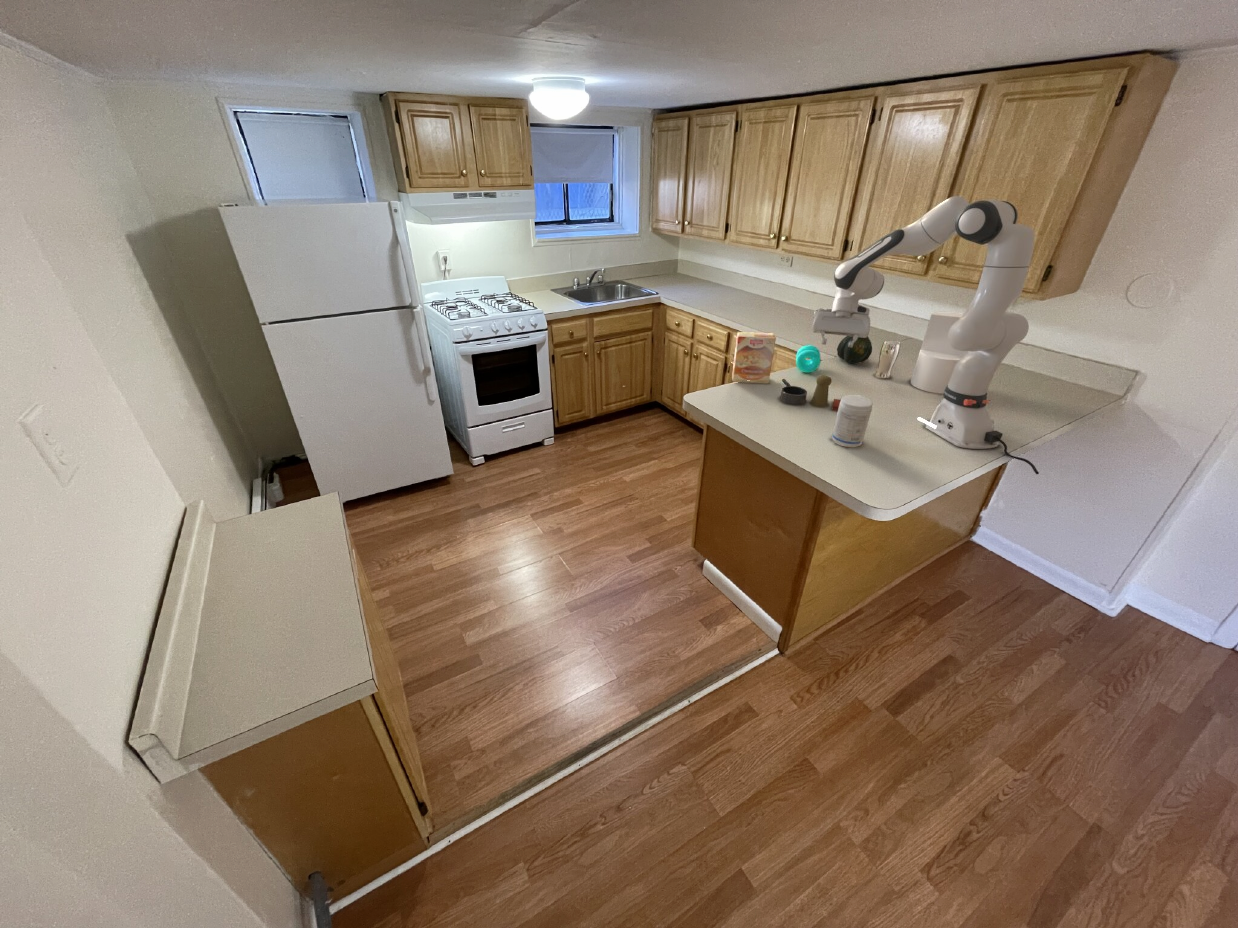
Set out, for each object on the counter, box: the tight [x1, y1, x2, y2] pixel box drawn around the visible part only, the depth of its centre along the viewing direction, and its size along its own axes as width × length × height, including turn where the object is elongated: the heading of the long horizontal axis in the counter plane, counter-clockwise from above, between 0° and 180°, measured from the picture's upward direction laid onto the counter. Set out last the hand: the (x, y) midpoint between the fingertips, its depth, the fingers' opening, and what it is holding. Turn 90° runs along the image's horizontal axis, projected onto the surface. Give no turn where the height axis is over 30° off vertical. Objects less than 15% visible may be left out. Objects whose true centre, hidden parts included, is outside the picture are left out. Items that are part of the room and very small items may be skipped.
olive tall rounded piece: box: [810, 374, 832, 408], centre depth 191 cm, size 6×6×11 cm
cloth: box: [831, 398, 841, 412], centre depth 190 cm, size 8×7×1 cm
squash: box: [836, 335, 873, 365], centre depth 232 cm, size 14×15×15 cm
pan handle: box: [781, 378, 792, 387], centre depth 202 cm, size 8×1×1 cm, turn 3°
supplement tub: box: [831, 394, 874, 448], centre depth 164 cm, size 10×10×15 cm
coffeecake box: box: [731, 331, 777, 384], centre depth 210 cm, size 15×7×20 cm, turn 82°
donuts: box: [795, 344, 821, 374], centre depth 223 cm, size 10×10×10 cm
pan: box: [779, 385, 808, 406], centre depth 196 cm, size 9×9×4 cm
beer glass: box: [874, 339, 902, 380], centre depth 214 cm, size 7×7×15 cm
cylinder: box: [910, 311, 968, 395], centre depth 202 cm, size 17×17×28 cm
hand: (837, 345), depth 192 cm, fingers open, 8 cm apart
